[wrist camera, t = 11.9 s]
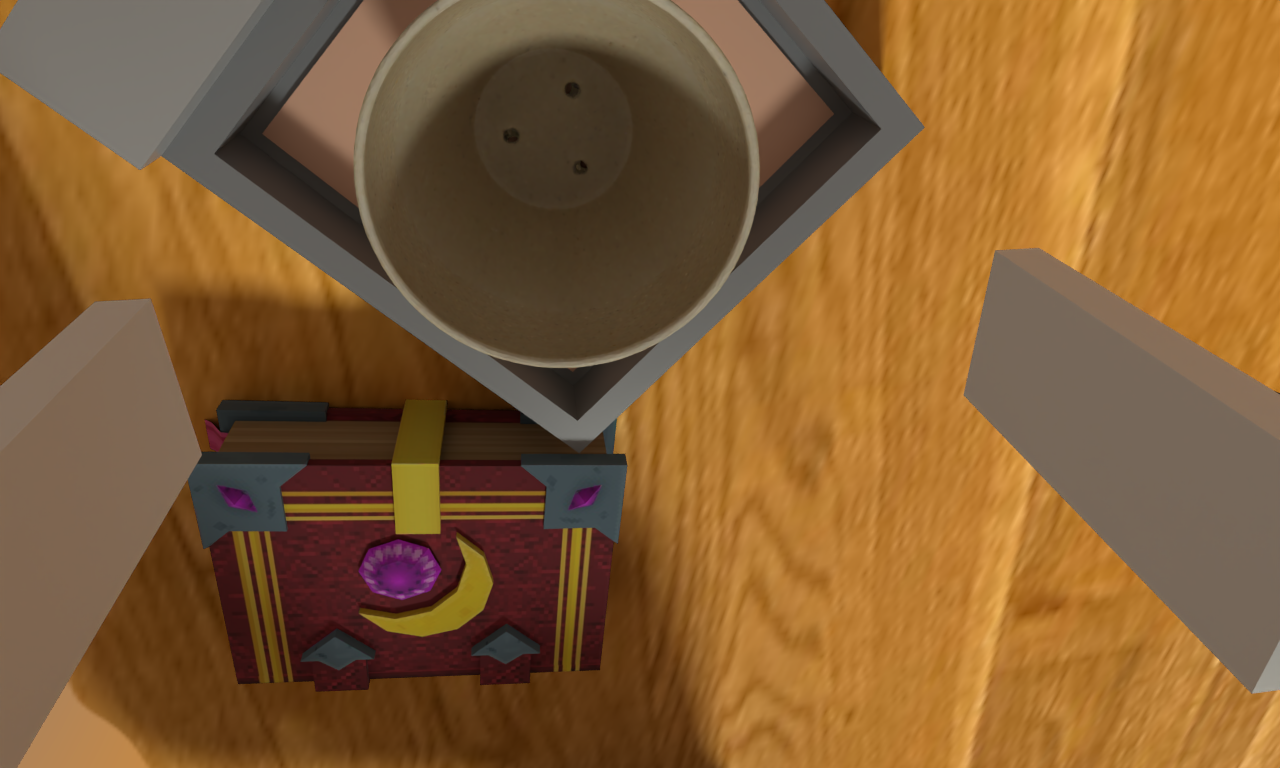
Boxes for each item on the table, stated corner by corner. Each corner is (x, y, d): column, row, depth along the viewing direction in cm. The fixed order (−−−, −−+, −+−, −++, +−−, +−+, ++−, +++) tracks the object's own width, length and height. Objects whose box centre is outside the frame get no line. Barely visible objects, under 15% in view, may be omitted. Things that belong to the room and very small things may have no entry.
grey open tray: (573, 404, 33) (582, 477, 29) (76, 34, 24) (-19, 59, 20) (881, 104, 28) (946, 138, 24) (408, -480, 20) (378, -589, 15)
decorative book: (594, 602, 39) (604, 687, 35) (235, 611, 36) (198, 704, 32) (614, 399, 33) (629, 470, 29) (192, 392, 31) (140, 470, 26)
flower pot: (744, 3, 25) (818, 31, 19) (659, 294, 30) (696, 394, 24) (413, -93, 23) (375, -96, 17) (376, 240, 27) (335, 335, 21)
